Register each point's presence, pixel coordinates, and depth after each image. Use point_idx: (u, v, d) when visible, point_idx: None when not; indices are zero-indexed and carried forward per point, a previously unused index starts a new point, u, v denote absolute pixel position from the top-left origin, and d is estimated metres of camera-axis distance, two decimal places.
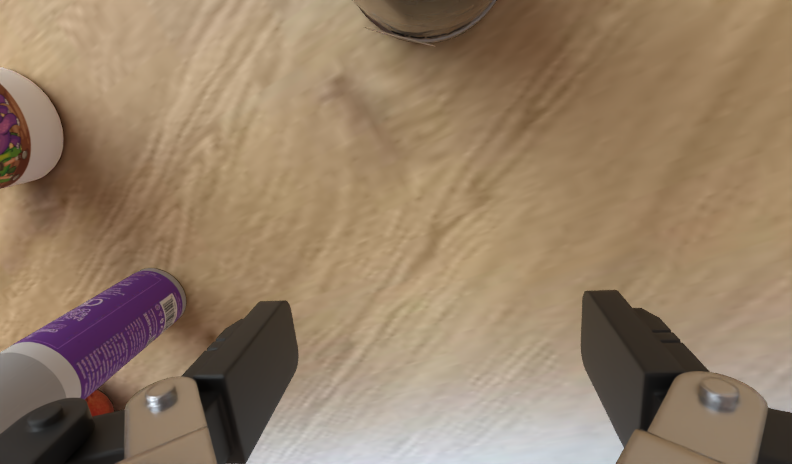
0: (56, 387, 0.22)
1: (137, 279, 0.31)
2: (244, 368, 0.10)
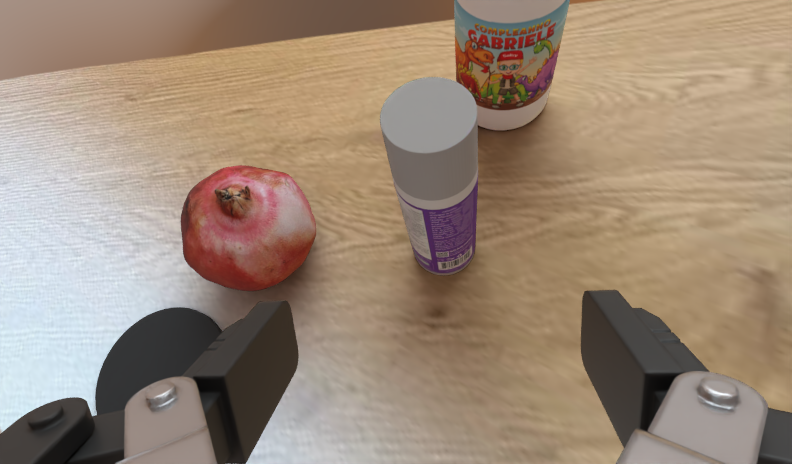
0: (468, 181, 0.22)
1: None
2: (244, 368, 0.10)
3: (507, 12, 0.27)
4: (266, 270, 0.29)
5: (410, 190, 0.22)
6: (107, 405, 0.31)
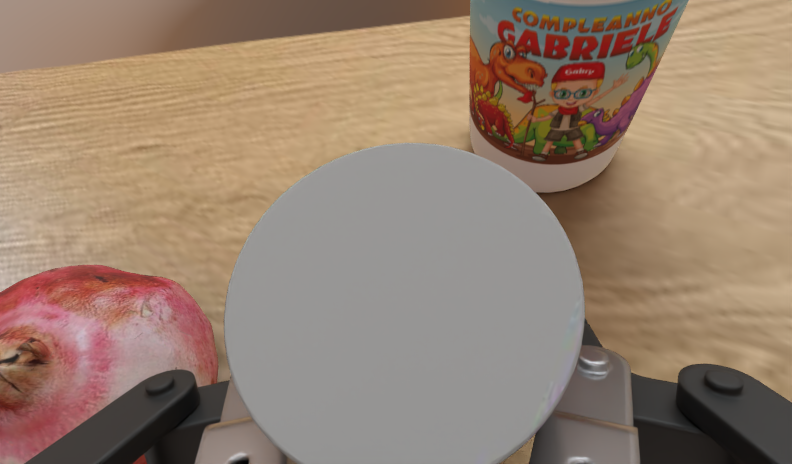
0: None
1: None
2: None
3: None
4: None
5: None
6: None
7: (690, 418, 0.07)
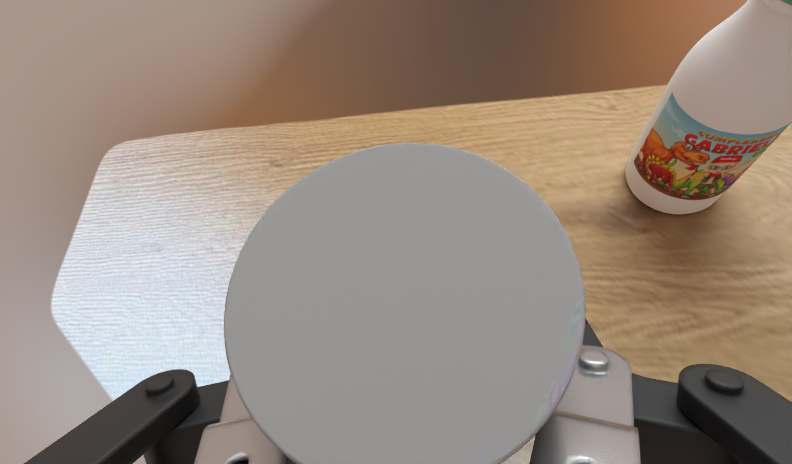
0: None
1: None
2: None
3: (747, 126, 0.27)
4: None
5: None
6: None
7: (691, 419, 0.07)
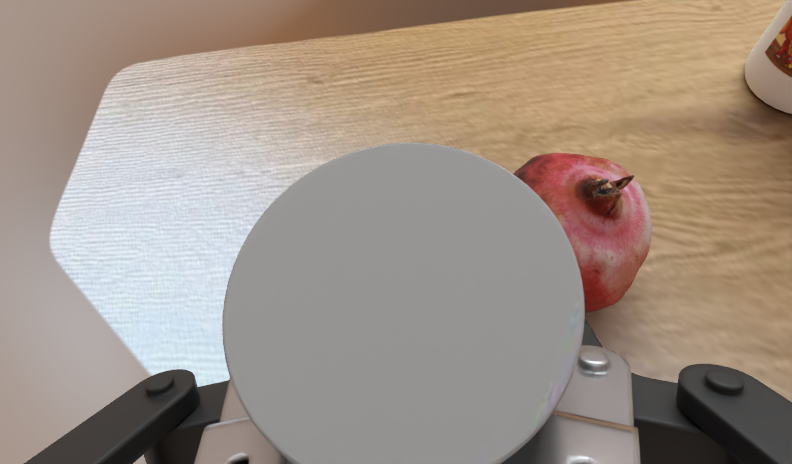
0: None
1: None
2: None
3: None
4: (625, 287, 0.22)
5: None
6: None
7: (691, 419, 0.07)
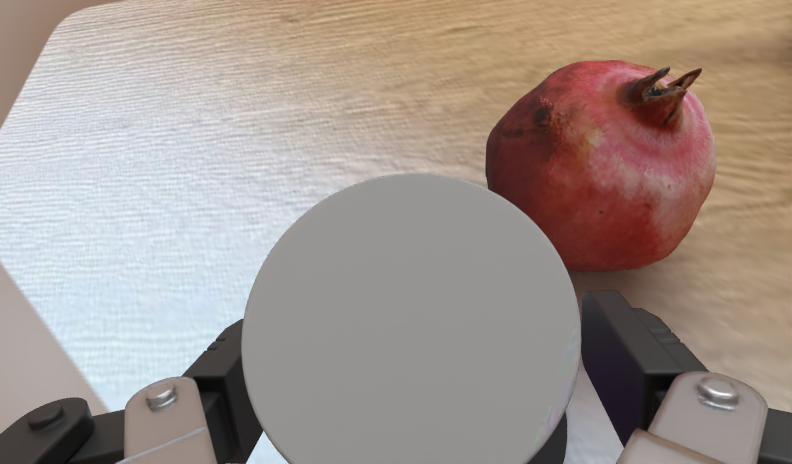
0: None
1: None
2: None
3: None
4: (683, 231, 0.16)
5: None
6: None
7: None
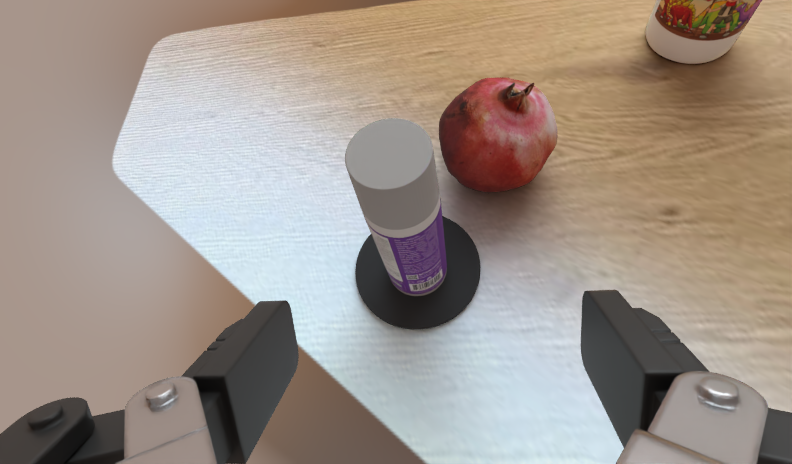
0: (429, 212, 0.24)
1: None
2: (244, 368, 0.10)
3: None
4: (534, 164, 0.32)
5: (375, 220, 0.24)
6: (371, 292, 0.35)
7: None
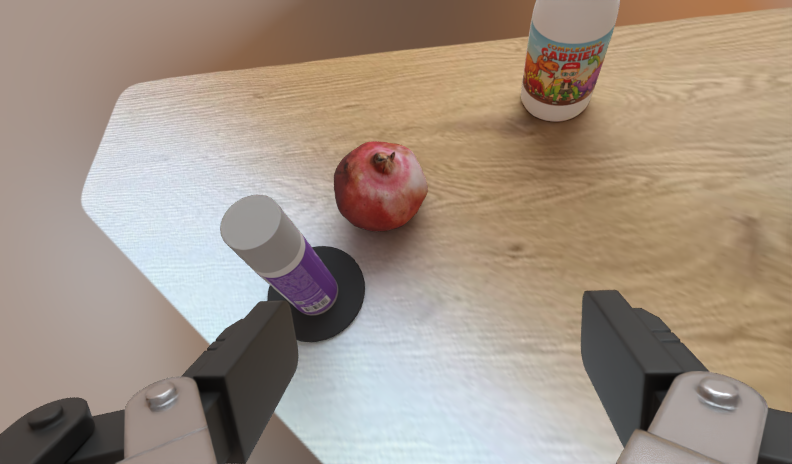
0: (290, 260, 0.33)
1: (331, 274, 0.42)
2: (244, 368, 0.10)
3: (573, 36, 0.40)
4: (401, 212, 0.41)
5: (250, 266, 0.33)
6: None
7: None
